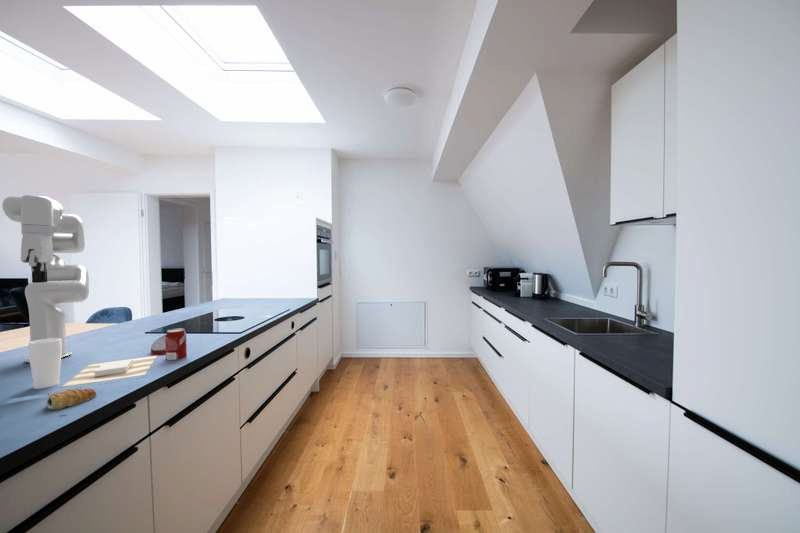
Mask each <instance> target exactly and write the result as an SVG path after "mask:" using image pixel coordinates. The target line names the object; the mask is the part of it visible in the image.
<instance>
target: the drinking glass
mask: <svg viewBox="0 0 800 533" xmlns="http://www.w3.org/2000/svg"><path fill="white" fill-rule="evenodd" d="M28 357H29V360H30V363H29V366H30V370H31V376H32V377H31V378H32V383H33V389H35V390H37V389H38V390H39V389H47V388H50V387H54V386H57V385H59V384H60V382H61V379H60V378H61V367H62V359H61V357H62V341H61V338H48V339H41V340H35V341H32V342H30V341H29V342H28Z"/></svg>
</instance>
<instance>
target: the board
mask: <svg viewBox="0 0 800 533" xmlns="http://www.w3.org/2000/svg"><path fill="white" fill-rule="evenodd" d="M157 357H158V355H152V356H146V357H137V358H132V359H133V365H132V366H131V367H130V368H129V369H128V371H127V372H124V373H117V374H110V375H103V376H96V377H95V370H97V369H98V368H99V367H100V366H101V365H102V364H103V363H104V362H98V363H90V364H88V365H87V366H86V367H85V368H83V369H82V370H81V371H79V372H78V373H77V374H76V375H75V376H73V377H72V378H71V379H69V380H68V381H67V382H66V383H65V384H63V385H62V386H61V388H67V387H74V386H79V385H87V384H93V383H100V382H106V381H113V380H119V379H124V378H125V379H126V378H131V377H132V379H130V381H131V380H133V377H137V376H138V377H139V376H143V378H144V379H145V378H146V377H145V376H146V375H147V372H148V371H149V369H150V368H151V366H152V364H153V363H154V361H155V360H156V359H157ZM113 361H114V360H113ZM113 361H111V362H113ZM119 361H121V360H120V359H119ZM144 375H145V376H144ZM138 379H140V377H139V378H136V380H138ZM117 382H120V381H117ZM113 383H114V381H113V382H111V384H113ZM105 384H106V385H107V384H108V383H105ZM100 385H101V383H100V384H98V386H100ZM75 389H76V388H75V387H74V388H73V390H75ZM79 389H82V387H79ZM67 390H70V389H67ZM60 392H63V390H61V391H60Z"/></svg>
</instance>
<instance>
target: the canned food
mask: <svg viewBox="0 0 800 533" xmlns="http://www.w3.org/2000/svg"><path fill="white" fill-rule="evenodd" d="M166 334H167V333H166ZM166 334H164V335H162V336H160V337H159V338H157V339H156V340H155V341H153V342H152V344H151V346H150V354H151V355H152V356H158V355H166V347H165V335H166Z"/></svg>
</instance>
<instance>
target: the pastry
mask: <svg viewBox="0 0 800 533" xmlns="http://www.w3.org/2000/svg"><path fill="white" fill-rule="evenodd" d="M96 396H97V392H96V389H94V388H85V389H82V388H75V389H69V390H68V389H66V390H63V391H58V392H57V393H53V394H49V395H48V398H47V399H46V405H47V408H48V409H49V410H61V409H65V408H66V407H72V405H73V406H76V405H79V404H81V402H82V403H84V402H83V401H85V402H87V401H89V400H88V399H90V400H92V399H93V398H95V397H96ZM86 400H87V401H86ZM78 403H79V404H78ZM75 404H76V405H75Z"/></svg>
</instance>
